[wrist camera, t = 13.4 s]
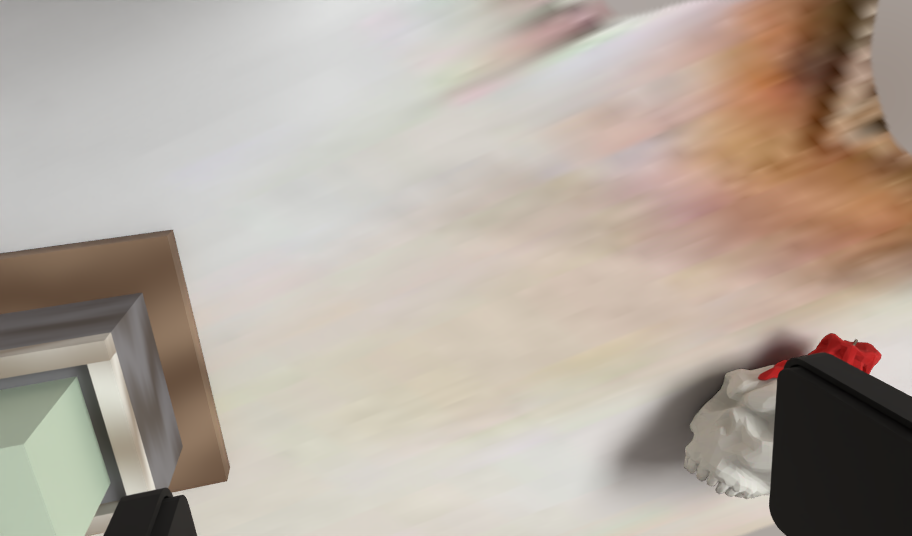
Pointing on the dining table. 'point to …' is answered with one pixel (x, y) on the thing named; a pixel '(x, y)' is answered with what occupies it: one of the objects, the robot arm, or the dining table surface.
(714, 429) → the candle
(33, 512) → the sage block
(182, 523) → the robot arm
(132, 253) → the pillar base
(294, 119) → the dining table surface
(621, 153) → the dining table surface
